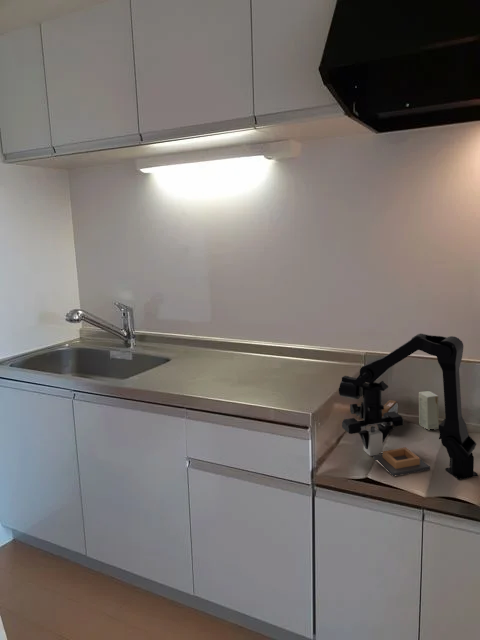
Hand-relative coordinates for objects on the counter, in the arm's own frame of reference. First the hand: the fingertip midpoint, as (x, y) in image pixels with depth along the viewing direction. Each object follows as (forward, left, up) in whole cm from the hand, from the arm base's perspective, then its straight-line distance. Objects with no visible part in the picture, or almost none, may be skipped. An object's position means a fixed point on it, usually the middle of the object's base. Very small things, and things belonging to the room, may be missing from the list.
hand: (373, 447), depth 166 cm
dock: (-10, -4, -2) cm, 11 cm away
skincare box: (+11, -27, -2) cm, 29 cm away
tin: (+17, -15, -2) cm, 23 cm away
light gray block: (0, 0, -2) cm, 2 cm away
